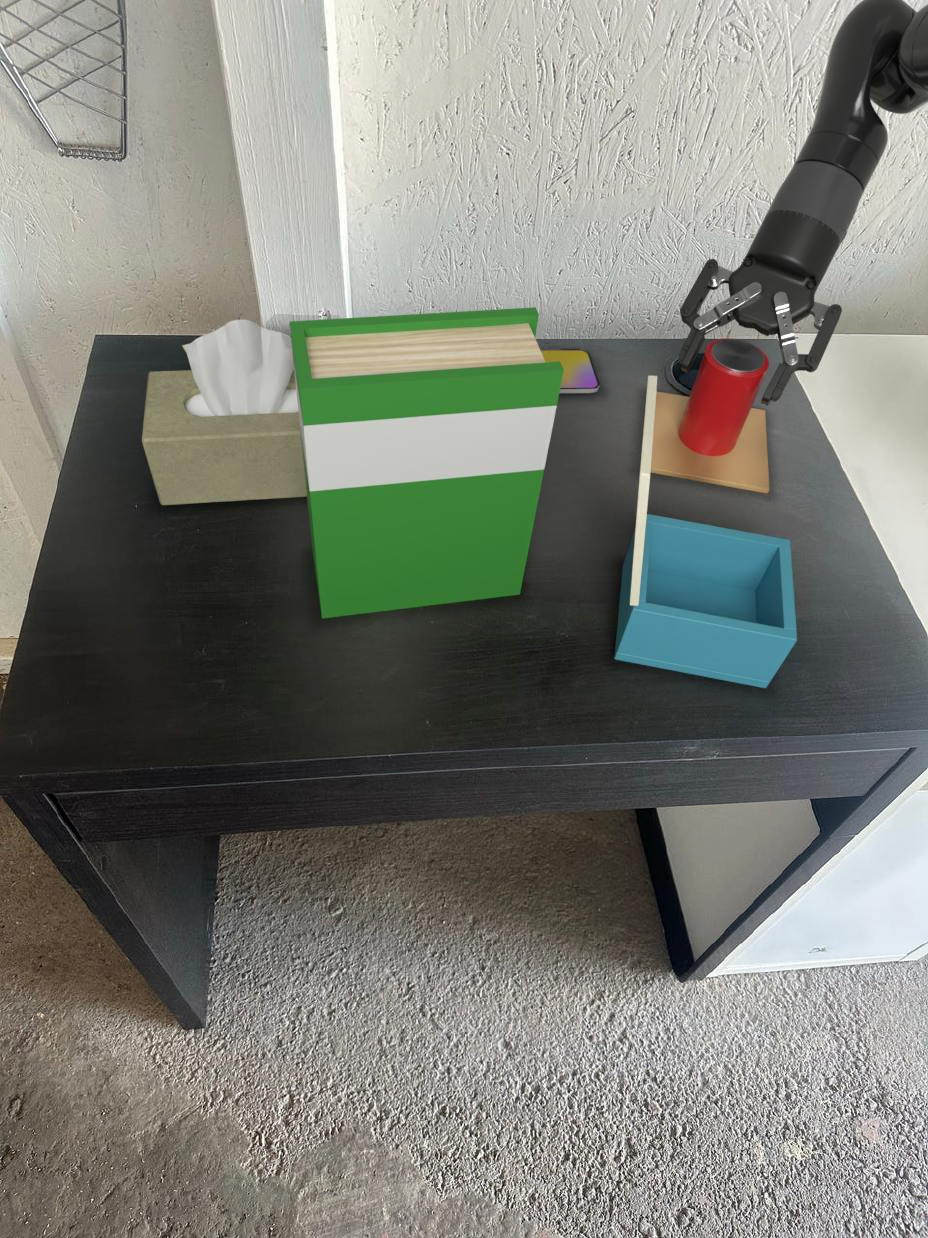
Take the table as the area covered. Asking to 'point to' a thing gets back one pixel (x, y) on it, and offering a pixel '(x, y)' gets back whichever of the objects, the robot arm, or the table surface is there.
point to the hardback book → (422, 454)
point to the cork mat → (731, 469)
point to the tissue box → (226, 420)
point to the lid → (643, 489)
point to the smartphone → (574, 370)
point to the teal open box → (709, 602)
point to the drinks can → (722, 396)
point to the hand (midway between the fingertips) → (723, 386)
